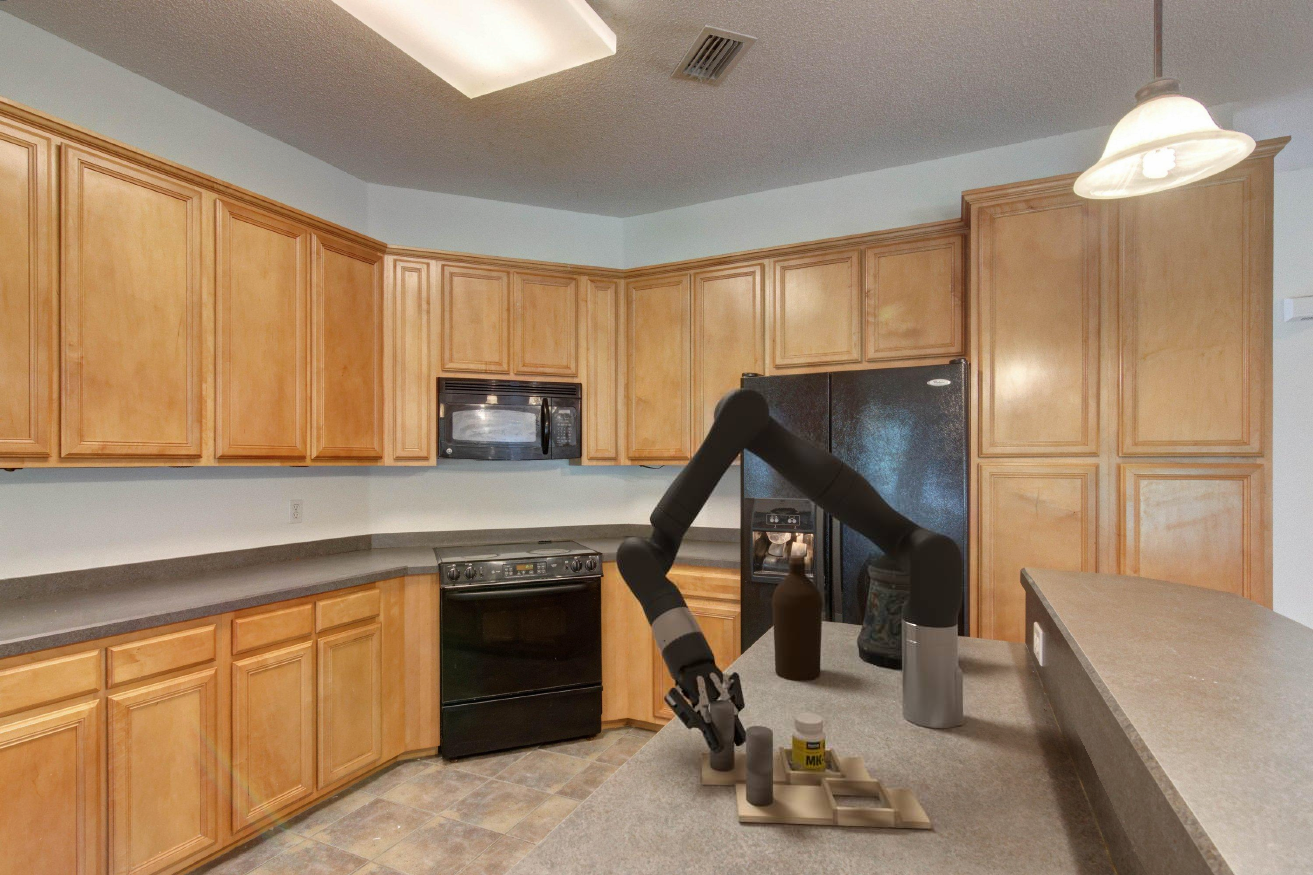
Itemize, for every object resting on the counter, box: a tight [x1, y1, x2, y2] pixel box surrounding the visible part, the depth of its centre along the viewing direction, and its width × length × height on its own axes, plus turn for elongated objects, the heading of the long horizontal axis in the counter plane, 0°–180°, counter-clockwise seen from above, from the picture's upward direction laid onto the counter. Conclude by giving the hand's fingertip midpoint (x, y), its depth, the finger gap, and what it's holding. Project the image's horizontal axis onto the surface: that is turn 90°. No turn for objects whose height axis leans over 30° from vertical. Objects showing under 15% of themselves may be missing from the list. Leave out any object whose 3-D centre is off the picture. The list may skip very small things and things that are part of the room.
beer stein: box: [856, 553, 910, 671], centre depth 150 cm, size 16×19×25 cm
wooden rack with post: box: [701, 699, 872, 786], centre depth 96 cm, size 24×8×10 cm, turn 86°
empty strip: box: [734, 725, 932, 829], centre depth 86 cm, size 24×8×10 cm, turn 86°
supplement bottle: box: [791, 712, 826, 772], centre depth 96 cm, size 5×5×8 cm
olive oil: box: [771, 554, 824, 682], centre depth 139 cm, size 11×11×25 cm
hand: (731, 746), depth 95 cm, fingers closed on wooden rack with post, 3 cm apart
